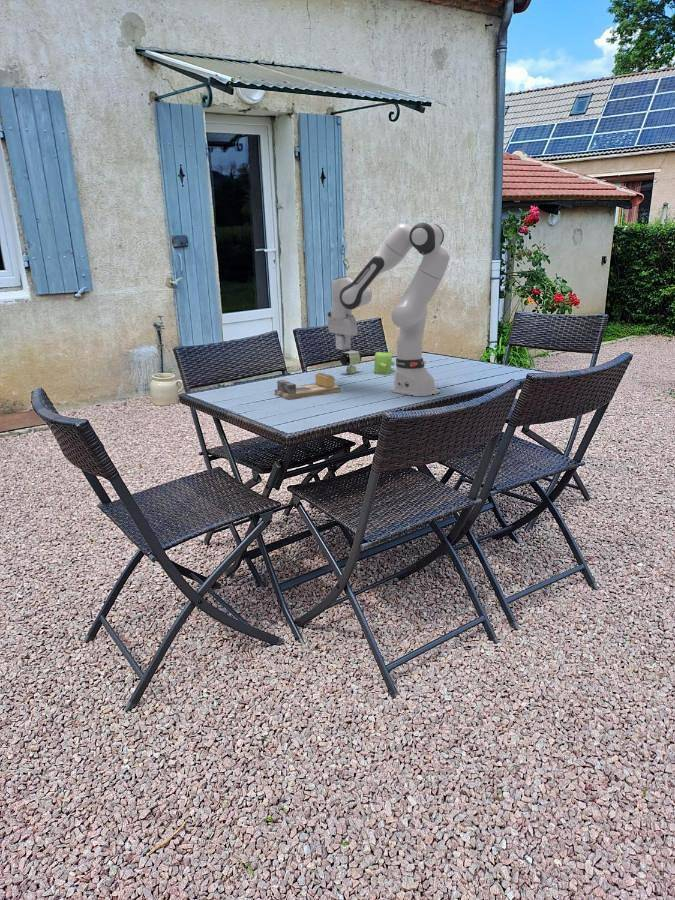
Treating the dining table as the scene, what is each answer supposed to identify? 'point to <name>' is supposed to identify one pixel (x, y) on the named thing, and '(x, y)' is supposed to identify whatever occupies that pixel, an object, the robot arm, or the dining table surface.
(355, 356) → the pneumatic valve
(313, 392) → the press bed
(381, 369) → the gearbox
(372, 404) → the dining table surface
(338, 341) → the housing
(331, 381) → the yellow orange block
